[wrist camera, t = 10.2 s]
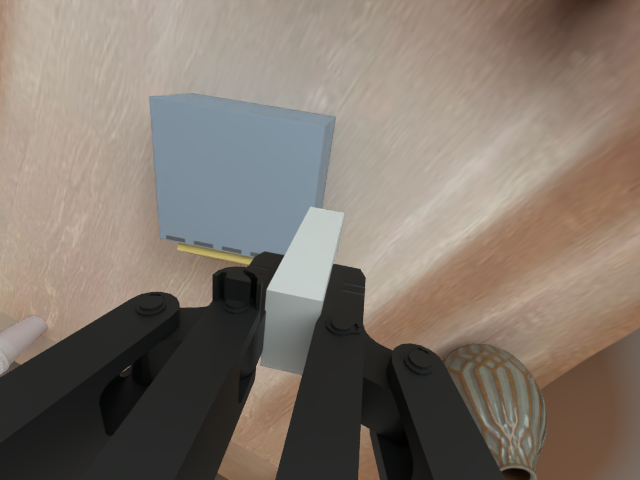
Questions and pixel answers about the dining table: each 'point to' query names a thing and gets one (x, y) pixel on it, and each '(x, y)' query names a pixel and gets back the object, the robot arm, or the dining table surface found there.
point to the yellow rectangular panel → (215, 254)
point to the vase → (502, 406)
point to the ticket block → (236, 171)
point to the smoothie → (19, 339)
